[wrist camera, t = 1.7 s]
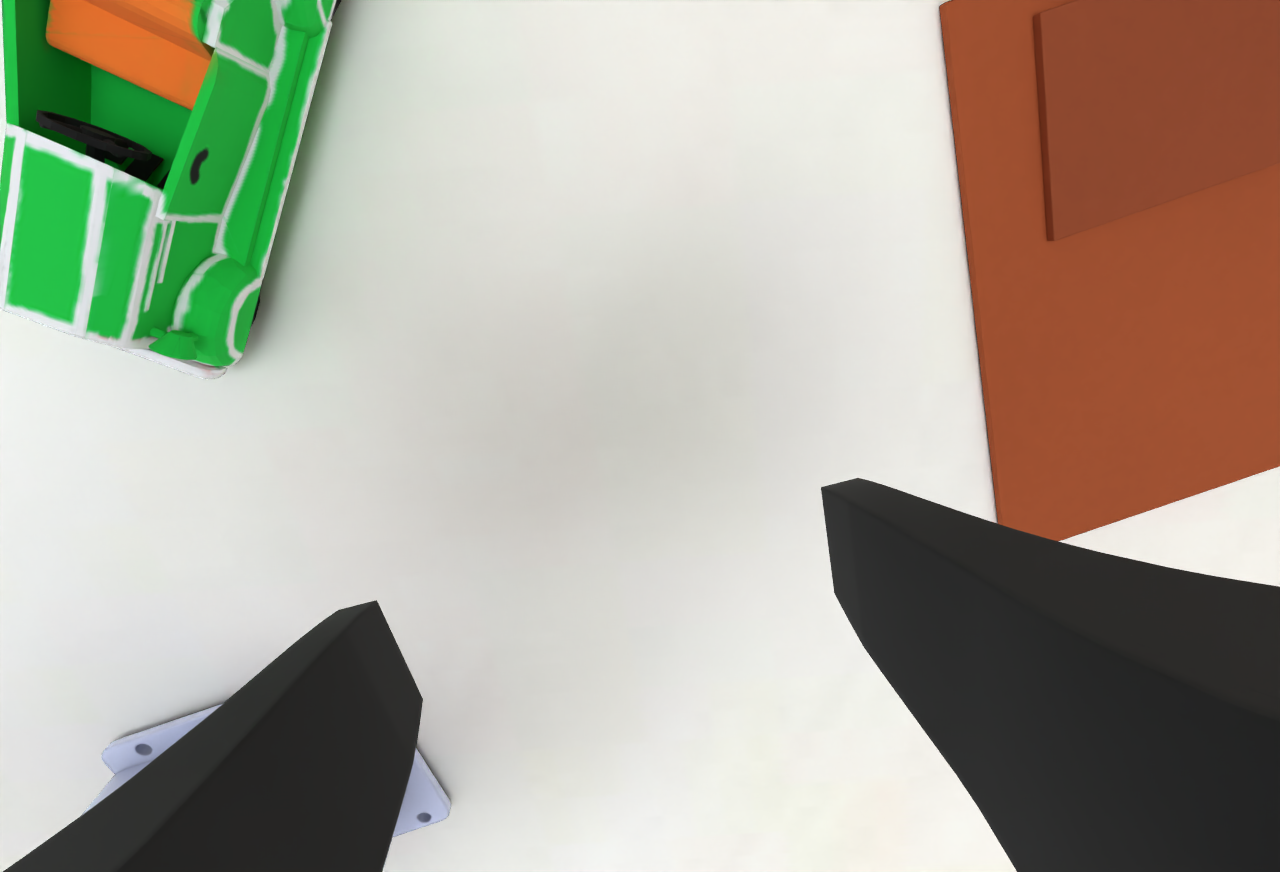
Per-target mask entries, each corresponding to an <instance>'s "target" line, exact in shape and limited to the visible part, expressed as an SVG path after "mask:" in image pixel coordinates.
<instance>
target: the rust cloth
mask: <svg viewBox="0 0 1280 872" xmlns="http://www.w3.org/2000/svg"><path fill="white" fill-rule="evenodd" d="M940 16H941V25H942V34H943V43H944V52H945V60H946V69H947V78H948V87H949V96H950V104H951V113H952V122H953V131H954V140H955V149H956V157H957V166H958V175H959V184H960V193H961V201H962V210H963V219H964V228H965V237H966V246H967V254H968V263H969V272H970V281H971V290H972V298H973V307H974V316H975V325H976V334H977V342H978V351H979V360H980V369H981V378H982V387H983V395H984V404H985V413H986V422H987V431H988V439H989V448H990V457H991V466H992V475H993V484H994V492H995V501H996V510H997V519H998V524H1000V525H1003V526H1006V527H1010V528H1013V529H1016V530H1020V531H1023V532H1027V533H1030V534H1034V535H1037V536H1041V537H1044V538H1048V539H1051V540H1055V541H1061V540H1064V539H1067V538H1070V537H1072V536H1075V535H1078V534H1081V533H1084V532H1087V531H1090V530H1093V529H1096V528H1099V527H1102V526H1105V525H1108V524H1111V523H1114V522H1117V521H1120V520H1123V519H1126V518H1128V517H1131V516H1134V515H1137V514H1140V513H1143V512H1146V511H1149V510H1152V509H1155V508H1158V507H1161V506H1164V505H1167V504H1170V503H1173V502H1176V501H1179V500H1181V499H1184V498H1187V497H1190V496H1193V495H1196V494H1199V493H1202V492H1205V491H1208V490H1211V489H1214V488H1217V487H1220V486H1223V485H1226V484H1229V483H1232V482H1234V481H1237V480H1240V479H1243V478H1246V477H1249V476H1252V475H1255V474H1258V473H1261V472H1264V471H1267V470H1270V469H1273V468H1276V467H1279V466H1280V0H951V1H948V2H946V3H944V4H942V5H941V6H940Z"/></svg>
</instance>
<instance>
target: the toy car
mask: <svg viewBox="0 0 1280 872" xmlns="http://www.w3.org/2000/svg"><path fill="white" fill-rule="evenodd" d="M340 2H341V0H2V17H3V43H4V69H5V95H6V121H7V124H6V133H5V143H4V152H3V161H2V171H1V180H0V309H2V310H4V311H6V312H9V313H12V314H15V315H17V316H20V317H23V318H26V319H28V320H31V321H34V322H37V323H39V324H42V325H45V326H48V327H50V328H53V329H56V330H58V331H61V332H64V333H67V334H69V335H72V336H75V337H79V338H83V339H86V340H91V341H95V342H99V343H103V344H107V345H110V346H112V347H115V348H118V349H121V350H123V351H126V352H129V353H132V354H134V355H137V356H140V357H143V358H145V359H148V360H151V361H154V362H156V363H159V364H162V365H165V366H167V367H170V368H173V369H176V370H178V371H181V372H184V373H187V374H189V375H192V376H195V377H198V378H203V379H216V378H219V377H221V376H222V375H223V374H225V372H226V370H227V368H226V367H223V366H232V365H234V364H236V363H237V362H238V361H239V360H240V359H241V358H242V355H243V352H244V349H245V345H246V342H247V339H248V336H249V332H250V328H251V326H252V324H253V322H254V320H255V317H256V314H257V310H258V306H259V303H260V288H261V284H262V279H264V275H265V271H266V267H267V264H268V260H269V256H270V253H271V249H272V245H273V241H274V238H275V234H276V230H277V227H278V223H279V219H280V215H281V212H282V208H283V204H284V201H285V197H286V193H287V190H288V186H289V182H290V178H291V175H292V171H293V167H294V164H295V160H296V156H297V152H298V149H299V145H300V141H301V138H302V134H303V130H304V127H305V123H306V119H307V115H308V112H309V108H310V104H311V101H312V97H313V93H314V89H315V86H316V82H317V78H318V75H319V71H320V67H321V63H322V60H323V56H324V52H325V49H326V45H327V41H328V38H329V34H330V30H331V26H332V22H331V18H332V17H333V15H334V13H335V11H336V10H337V8H338V6H339V4H340Z"/></svg>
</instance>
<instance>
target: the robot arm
mask: <svg viewBox="0 0 1280 872" xmlns="http://www.w3.org/2000/svg"><path fill="white" fill-rule="evenodd" d="M821 491H822V499H823V507H824V515H825V523H826V531H827V539H828V546H829V554H830V562H831V570H832V578H833V586H834V593H835V595H836V597H837V599H838V601H839V603H840V604H841V606H842V608H843V610H844V612H845V614H846V616H847V618H848V620H849V621H850V623H851V625H852V627H853V629H854V630H855V632H856V634H857V636H858V637H859V639H860V641H861V643H862V645H863V646H864V648H865V649H866V651H867V652H868V653H869V655H870V656H871V658H872V659H873V661H874V662H875V663H876V665H877V666H878V668H879V669H880V670H881V672H882V673H883V675H884V676H885V677H886V679H887V680H888V681H889V683H890V684H891V686H892V687H893V688H894V690H895V691H896V693H897V694H898V695H899V697H900V698H901V699H902V701H903V702H904V704H905V705H906V706H907V708H908V709H909V710H910V712H911V713H912V714H913V716H914V717H915V719H916V720H917V721H918V723H919V724H920V725H921V727H922V728H923V730H924V731H925V732H926V734H927V735H928V736H929V738H930V739H931V741H932V742H933V743H934V745H935V746H936V747H937V749H938V750H939V752H940V753H941V754H942V756H943V757H944V758H945V760H946V761H947V762H948V764H949V765H950V767H951V768H952V769H953V771H954V772H955V773H956V775H957V776H958V778H959V779H960V781H961V782H962V784H963V785H964V787H965V788H966V790H967V791H968V793H969V794H970V796H971V797H972V799H973V800H974V802H975V803H976V805H977V806H978V808H979V809H980V811H981V812H982V814H983V816H984V817H985V819H986V821H987V822H988V824H989V826H990V827H991V829H992V831H993V832H994V834H995V836H996V837H997V839H998V841H999V842H1000V844H1001V846H1002V847H1003V849H1004V851H1005V852H1006V854H1007V856H1008V857H1009V859H1010V861H1011V862H1012V864H1013V866H1014V867H1015V869H1016V871H1017V872H1280V587H1277V586H1271V585H1265V584H1259V583H1253V582H1247V581H1240V580H1234V579H1228V578H1222V577H1216V576H1210V575H1205V574H1200V573H1194V572H1189V571H1184V570H1179V569H1173V568H1168V567H1164V566H1159V565H1155V564H1150V563H1146V562H1141V561H1137V560H1132V559H1128V558H1123V557H1119V556H1114V555H1110V554H1105V553H1101V552H1096V551H1093V550H1089V549H1085V548H1081V547H1077V546H1073V545H1069V544H1065V543H1062V542H1058V541H1055V540H1051V539H1048V538H1044V537H1041V536H1037V535H1034V534H1030V533H1027V532H1023V531H1020V530H1016V529H1013V528H1010V527H1006V526H1003V525H1000V524H997V523H994V522H990V521H987V520H984V519H981V518H978V517H975V516H972V515H969V514H966V513H963V512H960V511H957V510H954V509H951V508H948V507H945V506H942V505H940V504H937V503H934V502H931V501H928V500H925V499H922V498H919V497H917V496H914V495H911V494H908V493H905V492H902V491H899V490H897V489H894V488H891V487H888V486H885V485H882V484H878V483H875V482H872V481H868V480H864V479H860V478H856V479H852V480H848V481H844V482H840V483H836V484H832V485H829V486H825V487H821ZM422 702H423V698H422V696H421V694H420V692H419V690H418V688H417V686H416V683H415V681H414V679H413V677H412V675H411V673H410V671H409V668H408V666H407V664H406V662H405V660H404V658H403V656H402V653H401V651H400V649H399V647H398V645H397V643H396V641H395V638H394V636H393V634H392V632H391V630H390V628H389V626H388V624H387V621H386V619H385V617H384V615H383V613H382V611H381V609H380V606H379V604H378V602H377V600H376V601H372V602H368V603H364V604H360V605H356V606H352V607H349V608H345V609H341V610H338V611H336V612H335V613H333V614H332V615H331V616H329V617H328V618H326V619H325V620H323V621H322V622H321V623H319V624H318V625H317V626H315V627H314V628H313V629H312V630H310V631H309V632H308V633H307V634H305V635H304V636H303V637H302V638H300V639H299V640H298V641H297V642H295V643H294V644H293V645H292V646H291V647H289V648H288V649H287V650H286V651H285V652H283V653H282V654H281V655H280V656H279V657H278V658H276V659H275V660H274V661H273V662H272V663H270V664H269V665H268V666H267V667H266V668H265V669H263V670H262V671H261V672H260V673H259V674H257V675H256V676H255V677H254V678H253V679H252V680H250V681H249V682H248V683H247V684H246V685H244V686H243V687H242V688H241V689H240V690H239V691H237V692H236V693H235V694H234V695H233V696H231V697H230V698H229V699H228V700H227V701H226V702H224V703H223V704H220V705H217V706H214V707H211V708H208V709H205V710H202V711H200V712H197V713H194V714H191V715H188V716H185V717H182V718H179V719H176V720H173V721H170V722H167V723H165V724H162V725H159V726H156V727H153V728H150V729H147V730H144V731H141V732H138V733H135V734H132V735H129V736H127V737H124V738H121V739H118V740H115V741H113V742H111V743H110V744H109V745H108V746H107V747H106V749H105V750H104V751H103V753H102V760H103V762H104V763H105V764H106V765H107V766H108V767H109V769H110V770H111V771H112V772H113V773H114V774H115V775H114V776H113V778H112V779H111V780H110V781H109V782H108V784H107V785H106V786H105V787H104V788H103V790H102V791H101V792H100V793H99V794H98V796H97V797H96V798H95V799H94V800H93V802H92V803H91V804H90V805H89V807H88V808H87V809H86V810H85V811H84V813H83V814H82V815H81V816H80V817H79V818H78V819H76V820H75V821H73V822H72V823H71V824H69V825H68V826H67V827H65V828H64V829H62V830H61V831H60V832H58V833H57V834H55V835H54V836H53V837H51V838H50V839H48V840H47V841H46V842H44V843H43V844H41V845H40V846H39V847H37V848H36V849H34V850H33V851H32V852H30V853H29V854H28V855H26V856H25V857H23V858H22V859H21V860H19V861H18V862H16V863H15V864H13V865H12V866H10V867H9V868H8V869H6V870H5V871H3V872H383V868H384V865H385V861H386V858H387V855H388V851H389V848H390V844H391V841H392V838H393V837H395V836H398V835H401V834H404V833H407V832H410V831H413V830H416V829H419V828H422V827H425V826H428V825H431V824H434V823H437V822H440V821H442V820H444V819H446V818H447V817H448V816H449V813H450V808H451V802H450V800H449V798H448V797H447V795H446V794H445V792H444V791H443V789H442V788H441V786H440V784H439V783H438V781H437V780H436V778H435V777H434V775H433V774H432V772H431V770H430V769H429V767H428V766H427V764H426V763H425V761H424V759H423V758H422V756H421V755H420V753H419V752H418V750H417V749H416V744H417V738H418V732H419V725H420V717H421V710H422ZM424 812H425V813H424Z"/></svg>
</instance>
